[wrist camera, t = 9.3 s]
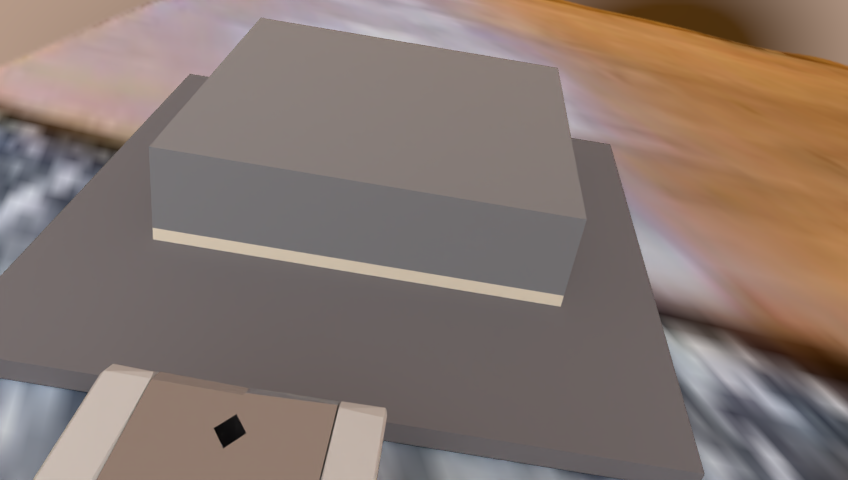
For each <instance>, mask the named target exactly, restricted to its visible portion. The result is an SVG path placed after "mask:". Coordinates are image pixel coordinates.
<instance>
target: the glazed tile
mask: <svg viewBox="0 0 848 480" xmlns="http://www.w3.org/2000/svg"><path fill="white" fill-rule="evenodd" d="M149 162H150V184H151V207H152V229H153V239H154V240H160V241H166V242H172V243H178V244H184V245H190V246H196V247H202V248H208V249H214V250H220V251H226V252H232V253H238V254H244V255H250V256H257V257H263V258H269V259H275V260H281V261H287V262H293V263H299V264H305V265H311V266H317V267H323V268H329V269H335V270H341V271H347V272H353V273H359V274H365V275H371V276H377V277H384V278H390V279H396V280H402V281H408V282H414V283H420V284H426V285H432V286H438V287H444V288H450V289H456V290H462V291H468V292H474V293H480V294H486V295H492V296H498V297H504V298H511V299H517V300H523V301H529V302H535V303H541V304H547V305H553V306H559V307H561V304H562V300H563V297H564V294H565V290H566V287H567V284H568V280H569V277H570V274H571V270H572V267H573V264H574V260H575V257H576V254H577V250H578V247H579V244H580V240H581V237H582V234H583V230H584V227H585V224H586V220H587V218H586V213H585V208H584V203H583V197H582V192H581V187H580V182H579V176H578V171H577V166H576V161H575V156H574V150H573V145H572V140H571V135H570V129H569V124H568V119H567V114H566V108H565V103H564V98H563V93H562V88H561V82H560V77H559V72H558V68H555V67H549V66H543V65H537V64H531V63H525V62H519V61H514V60H508V59H502V58H496V57H490V56H484V55H478V54H472V53H466V52H460V51H454V50H448V49H442V48H437V47H431V46H425V45H419V44H413V43H407V42H401V41H395V40H389V39H383V38H377V37H371V36H366V35H360V34H354V33H348V32H342V31H336V30H330V29H324V28H318V27H312V26H306V25H300V24H294V23H289V22H283V21H277V20H271V19H265V18H260V19H259V21H258V22H257V23H256V24H255V25H254V26H253V27H252V29H251V30H250V31H249V32H248V33H247V34H246V35H245V37H244V38H243V39H242V40H241V41H240V42H239V43H238V45H237V46H236V47H235V48H234V49H233V50H232V52H231V53H230V54H229V55H228V56H227V57H226V58H225V60H224V61H223V62H222V63H221V64H220V65H219V66H218V68H217V69H216V70H215V71H214V72H213V73H212V75H211V76H210V77H209V78H208V79H207V80H206V81H205V83H204V84H203V85H202V86H201V87H200V88H199V89H198V91H197V92H196V93H195V94H194V95H193V96H192V97H191V99H190V100H189V101H188V102H187V103H186V104H185V106H184V107H183V108H182V109H181V110H180V111H179V112H178V114H177V115H176V116H175V117H174V118H173V119H172V120H171V122H170V123H169V124H168V125H167V126H166V127H165V129H164V130H163V131H162V132H161V133H160V134H159V135H158V137H157V138H156V139H155V140H154V141H153V142H152V143H151V145H150V146H149Z"/></svg>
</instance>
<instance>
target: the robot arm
mask: <svg viewBox="0 0 848 480" xmlns="http://www.w3.org/2000/svg"><path fill="white" fill-rule="evenodd" d="M386 419H387V410H386V408H383V407H377V406H370V405H363V404H356V403H350V402H343V401H341V403H340V401H335V400H329V399H322V398H315V397H309V396H302V395H295V394H289V393H282V392H276V391H269V390H262V389H256V388H246V387H240V386H235V385H230V384H224V383H219V382H213V381H208V380H203V379H197V378H192V377H187V376H181V375H176V374H170V373H165V372H154V371H149V370H143V369H138V368H133V367H128V366H123V365H117V364H112V365H111V366H109V367H108V368H107V369H105V370H104V371H103V372H102V373H100V375H99V376H98V378H97V380H96V381H95V383H94V384H93V386H92V387H91V389H90V391H89V392H88V394H87V395H86V397H85V398H84V400H83V402H82V403H81V405H80V406H79V408H78V409H77V411H76V413H75V414H74V416H73V417H72V419H71V420H70V422H69V424H68V425H67V427H66V428H65V430H64V431H63V433H62V435H61V436H60V438H59V439H58V441H57V442H56V444H55V446H54V447H53V449H52V450H51V452H50V453H49V455H48V457H47V458H46V460H45V461H44V463H43V464H42V466H41V468H40V469H39V471H38V472H37V474H36V475H35V477H34V479H33V480H377V474H378V468H379V462H380V456H381V450H382V443H383V437H384V431H385V425H386Z"/></svg>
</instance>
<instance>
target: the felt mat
mask: <svg viewBox="0 0 848 480" xmlns="http://www.w3.org/2000/svg"><path fill="white" fill-rule="evenodd" d="M208 78H209V77H205V76H199V75H194V74H190V75H189V76H188V77H187V78H186V79H185V80H184V81H183V82H182V83H181V84H180V85H179V86H178V87H177V88H176V90H175V91H174V92H173V93H172V94H171V95H170V96H169V97H168V98H167V99H166V100H165V101H164V102H163V103H162V104H161V105H160V107H159V108H158V109H157V110H156V111H155V112H154V113H153V114H152V115H151V116H150V117H149V118H148V119H147V120H146V121H145V123H144V124H143V125H142V126H141V127H140V128H139V129H138V130H137V131H136V132H135V133H134V134H133V135H132V136H131V137H130V139H129V140H128V141H127V142H126V143H125V144H124V145H123V146H122V147H121V148H120V149H119V150H118V151H117V152H116V153H115V155H114V156H113V157H112V158H111V159H110V160H109V161H108V162H107V163H106V164H105V165H104V166H103V167H102V168H101V169H100V171H99V172H98V173H97V174H96V175H95V176H94V177H93V178H92V179H91V180H90V181H89V182H88V183H87V184H86V185H85V187H84V188H83V189H82V190H81V191H80V192H79V193H78V194H77V195H76V196H75V197H74V198H73V199H72V200H71V201H70V203H69V204H68V205H67V206H66V207H65V208H64V209H63V210H62V211H61V212H60V213H59V214H58V215H57V216H56V217H55V219H54V220H53V221H52V222H51V223H50V224H49V225H48V226H47V227H46V228H45V229H44V230H43V231H42V232H41V233H40V235H39V236H38V237H37V238H36V239H35V240H34V241H33V242H32V243H31V244H30V245H29V246H28V247H27V248H26V249H25V251H24V252H23V253H22V254H21V255H20V256H19V257H18V258H17V259H16V260H15V261H14V262H13V263H12V264H11V265H10V267H9V268H8V269H7V270H6V271H5V272H4V273H3V274H2V275H1V276H0V378H3V379H10V380H16V381H22V382H28V383H34V384H40V385H46V386H53V387H59V388H65V389H71V390H77V391H83V392H89V391H90V389H91V387H92V386H93V384H94V383H95V381H96V380H97V378H98V376H99V375H100V373H102V372H103V371H104V370H105V369H107V368H108V367H109V366H111V365H112V364H117V365H123V366H128V367H133V368H138V369H143V370H149V371H154V372H165V373H170V374H176V375H181V376H187V377H192V378H197V379H203V380H208V381H213V382H219V383H224V384H230V385H235V386H240V387H246V388H256V389H262V390H269V391H276V392H282V393H289V394H295V395H302V396H309V397H315V398H322V399H329V400H335V401H340V403H341V401H343V402H350V403H356V404H363V405H370V406H377V407H383V408H386V410H387V419H386V425H385V431H384V437H383V440H384V441H390V442H396V443H403V444H409V445H415V446H421V447H427V448H433V449H439V450H445V451H452V452H458V453H464V454H470V455H476V456H482V457H488V458H495V459H501V460H507V461H513V462H519V463H525V464H531V465H538V466H544V467H550V468H556V469H562V470H568V471H574V472H581V473H587V474H593V475H599V476H605V477H611V478H617V479H624V480H702V478H703V476H704V471H703V467H702V464H701V460H700V457H699V453H698V450H697V446H696V443H695V439H694V436H693V432H692V429H691V425H690V422H689V418H688V415H687V411H686V408H685V404H684V401H683V397H682V394H681V390H680V387H679V383H678V380H677V376H676V373H675V369H674V366H673V362H672V359H671V355H670V352H669V348H668V345H667V341H666V338H665V334H664V331H663V327H662V324H661V320H660V317H659V313H658V310H657V306H656V303H655V299H654V296H653V293H652V289H651V286H650V282H649V279H648V275H647V272H646V268H645V265H644V261H643V258H642V254H641V251H640V247H639V244H638V240H637V237H636V233H635V230H634V226H633V223H632V219H631V216H630V212H629V209H628V205H627V202H626V198H625V195H624V191H623V188H622V184H621V181H620V177H619V174H618V170H617V167H616V163H615V160H614V156H613V153H612V149H611V146H610V144H604V143H599V142H593V141H587V140H581V139H575V138H571V140H572V145H573V150H574V156H575V161H576V166H577V171H578V176H579V182H580V187H581V192H582V197H583V203H584V208H585V213H586V218H587V220H586V224H585V227H584V230H583V234H582V237H581V240H580V244H579V247H578V250H577V254H576V257H575V260H574V264H573V267H572V270H571V274H570V277H569V280H568V284H567V287H566V290H565V294H564V297H563V300H562V304H561V307H559V306H553V305H547V304H541V303H535V302H529V301H523V300H517V299H511V298H504V297H498V296H492V295H486V294H480V293H474V292H468V291H462V290H456V289H450V288H444V287H438V286H432V285H426V284H420V283H414V282H408V281H402V280H396V279H390V278H384V277H377V276H371V275H365V274H359V273H353V272H347V271H341V270H335V269H329V268H323V267H317V266H311V265H305V264H299V263H293V262H287V261H281V260H275V259H269V258H263V257H257V256H250V255H244V254H238V253H232V252H226V251H220V250H214V249H208V248H202V247H196V246H190V245H184V244H178V243H172V242H166V241H160V240H154V239H153V229H152V207H151V184H150V162H149V146H150V145H151V143H152V142H153V141H154V140H155V139H156V138H157V137H158V135H159V134H160V133H161V132H162V131H163V130H164V129H165V127H166V126H167V125H168V124H169V123H170V122H171V120H172V119H173V118H174V117H175V116H176V115H177V114H178V112H179V111H180V110H181V109H182V108H183V107H184V106H185V104H186V103H187V102H188V101H189V100H190V99H191V97H192V96H193V95H194V94H195V93H196V92H197V91H198V89H199V88H200V87H201V86H202V85H203V84H204V83H205V81H206V80H207V79H208Z"/></svg>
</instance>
